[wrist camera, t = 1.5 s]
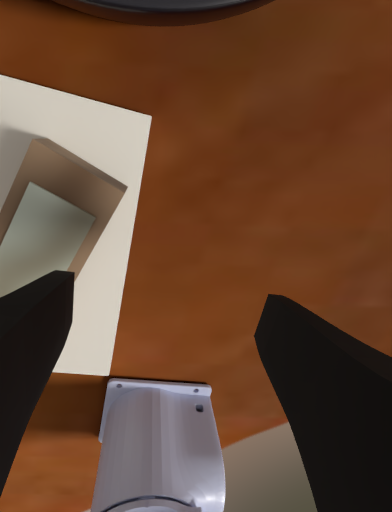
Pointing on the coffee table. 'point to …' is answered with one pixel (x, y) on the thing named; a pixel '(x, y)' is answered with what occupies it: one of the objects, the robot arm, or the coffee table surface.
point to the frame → (53, 214)
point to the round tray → (164, 10)
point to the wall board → (122, 221)
